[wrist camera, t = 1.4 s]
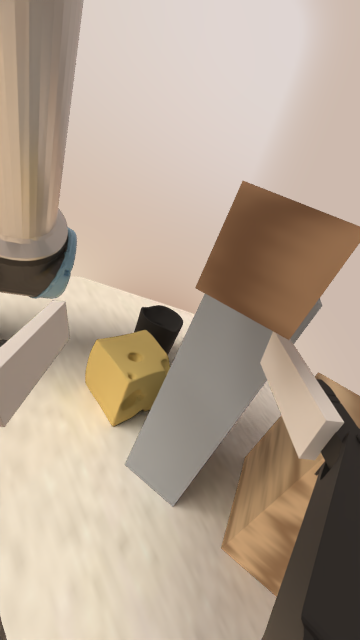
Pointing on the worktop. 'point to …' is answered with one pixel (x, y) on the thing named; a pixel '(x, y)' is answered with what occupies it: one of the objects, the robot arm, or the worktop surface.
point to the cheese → (126, 374)
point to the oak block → (275, 499)
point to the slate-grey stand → (202, 396)
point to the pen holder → (160, 325)
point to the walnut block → (275, 258)
